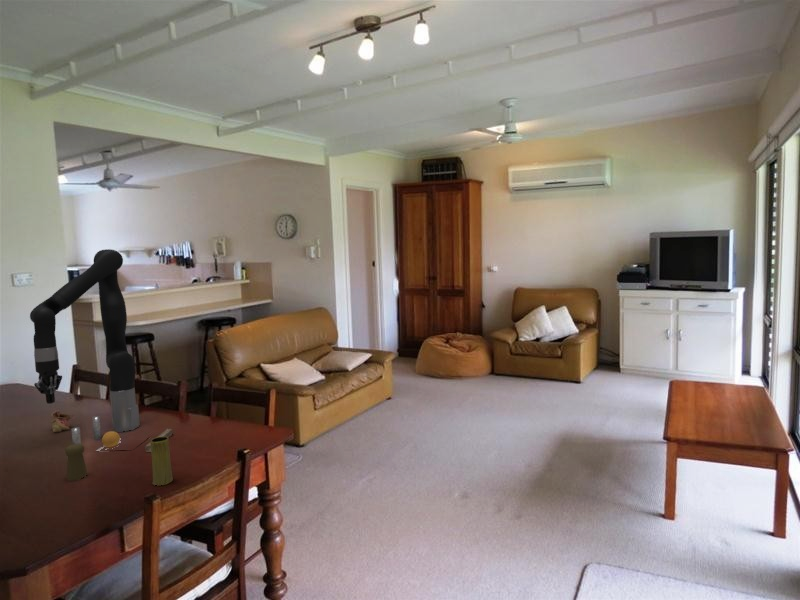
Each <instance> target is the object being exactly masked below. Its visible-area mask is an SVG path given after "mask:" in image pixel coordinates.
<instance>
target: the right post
mask: <svg viewBox="0 0 800 600" xmlns="http://www.w3.org/2000/svg"><path fill="white" fill-rule="evenodd" d="M91 419H92V427H93V428H92V429H93V440H95V441H98V440H102V437H103V436H102V428H101V416H100V415H95V416H92V417H91Z"/></svg>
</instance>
